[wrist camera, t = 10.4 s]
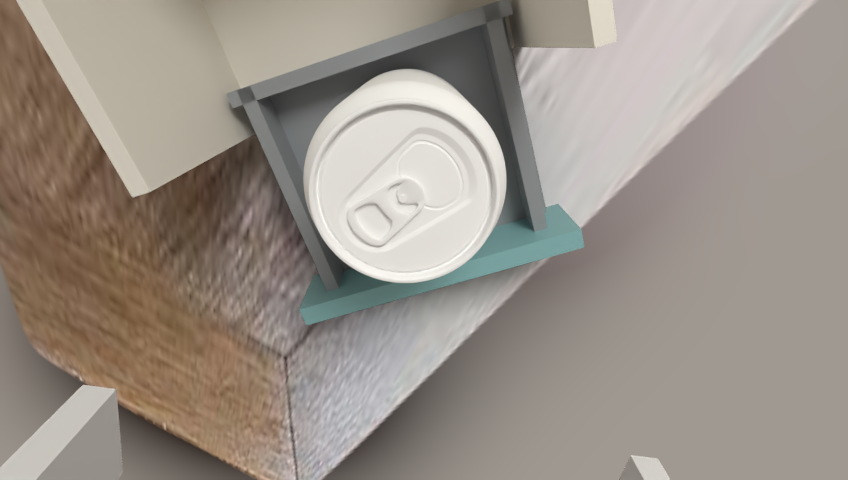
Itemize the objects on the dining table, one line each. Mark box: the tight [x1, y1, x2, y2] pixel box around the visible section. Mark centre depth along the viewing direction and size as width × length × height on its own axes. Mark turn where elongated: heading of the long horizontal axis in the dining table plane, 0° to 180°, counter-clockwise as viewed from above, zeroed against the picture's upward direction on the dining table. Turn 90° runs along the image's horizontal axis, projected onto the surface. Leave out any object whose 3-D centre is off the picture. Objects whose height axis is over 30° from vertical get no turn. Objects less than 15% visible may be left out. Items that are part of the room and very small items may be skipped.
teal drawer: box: [226, 0, 584, 325], centre depth 27 cm, size 14×18×5 cm
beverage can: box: [303, 69, 506, 283], centre depth 22 cm, size 8×8×12 cm
